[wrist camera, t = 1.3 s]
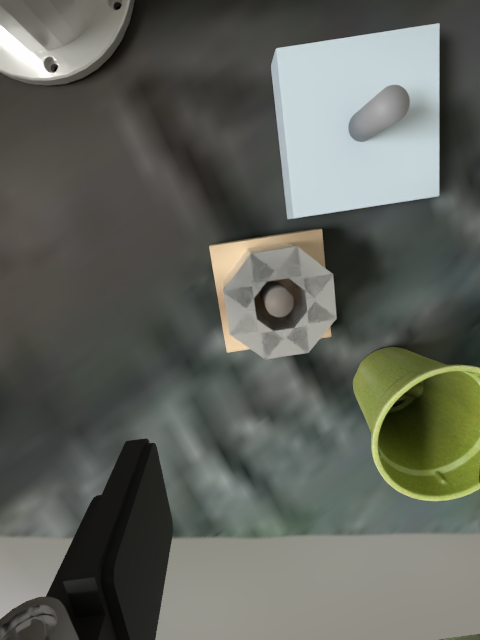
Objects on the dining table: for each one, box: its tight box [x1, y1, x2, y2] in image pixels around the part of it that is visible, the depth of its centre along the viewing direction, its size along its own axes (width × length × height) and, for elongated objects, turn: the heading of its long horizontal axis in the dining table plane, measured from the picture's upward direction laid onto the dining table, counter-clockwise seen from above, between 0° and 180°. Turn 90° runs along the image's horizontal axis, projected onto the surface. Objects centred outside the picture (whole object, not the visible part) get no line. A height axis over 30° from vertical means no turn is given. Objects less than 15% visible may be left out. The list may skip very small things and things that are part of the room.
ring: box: [223, 243, 337, 359], centre depth 24 cm, size 7×7×4 cm
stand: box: [209, 229, 331, 352], centre depth 25 cm, size 8×8×6 cm
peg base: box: [271, 23, 439, 219], centre depth 22 cm, size 10×10×7 cm
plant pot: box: [353, 347, 480, 501], centre depth 26 cm, size 9×9×9 cm
